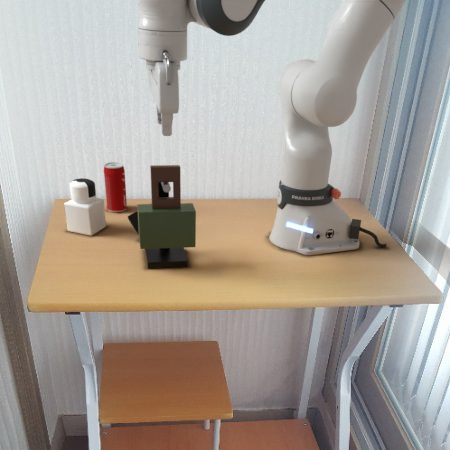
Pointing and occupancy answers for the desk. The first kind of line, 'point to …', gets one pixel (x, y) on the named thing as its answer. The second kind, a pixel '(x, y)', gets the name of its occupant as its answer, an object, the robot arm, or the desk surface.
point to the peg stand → (165, 255)
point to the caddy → (166, 214)
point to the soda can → (115, 187)
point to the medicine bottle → (84, 208)
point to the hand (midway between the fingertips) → (164, 129)
